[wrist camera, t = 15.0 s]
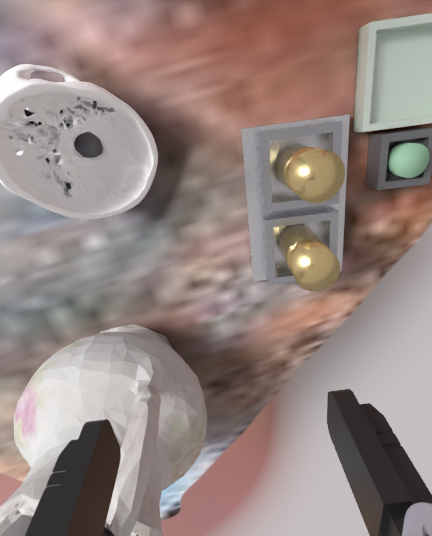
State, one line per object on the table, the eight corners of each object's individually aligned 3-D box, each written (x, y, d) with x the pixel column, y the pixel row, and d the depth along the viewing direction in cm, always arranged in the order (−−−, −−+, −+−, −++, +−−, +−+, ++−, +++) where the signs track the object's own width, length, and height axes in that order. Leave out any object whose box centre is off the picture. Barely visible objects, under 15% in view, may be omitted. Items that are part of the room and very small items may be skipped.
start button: (386, 144, 30) (397, 145, 28) (418, 140, 29) (432, 141, 28) (383, 176, 31) (394, 180, 29) (413, 173, 31) (426, 175, 29)
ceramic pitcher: (78, 261, 37) (-179, 474, 14) (237, 306, 38) (239, 571, 15) (63, 393, 45) (-112, 657, 23) (193, 426, 46) (151, 710, 24)
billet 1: (274, 148, 30) (292, 154, 23) (316, 141, 30) (346, 146, 23) (276, 190, 31) (294, 206, 25) (316, 184, 31) (344, 199, 25)
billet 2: (278, 227, 33) (294, 252, 27) (316, 223, 33) (341, 248, 26) (279, 261, 35) (294, 293, 28) (315, 258, 35) (338, 289, 28)
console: (369, 134, 30) (382, 134, 28) (421, 127, 30) (438, 127, 28) (365, 185, 33) (377, 190, 30) (414, 179, 32) (429, 183, 30)
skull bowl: (-20, 20, 25) (-20, 27, 17) (137, 102, 34) (186, 132, 26) (-41, 145, 29) (-49, 200, 21) (106, 189, 38) (140, 239, 30)
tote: (358, 29, 27) (369, 21, 25) (455, 15, 27) (473, 7, 25) (353, 131, 30) (362, 132, 29) (438, 120, 30) (453, 120, 28)
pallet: (240, 128, 30) (243, 129, 27) (344, 114, 30) (359, 113, 27) (252, 276, 37) (255, 289, 34) (337, 266, 36) (349, 279, 33)
